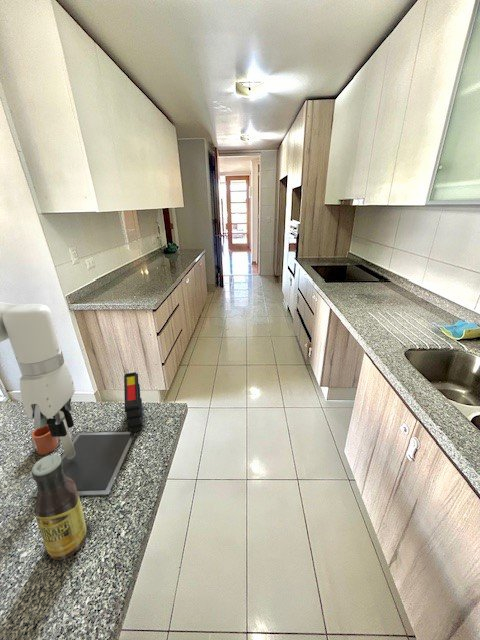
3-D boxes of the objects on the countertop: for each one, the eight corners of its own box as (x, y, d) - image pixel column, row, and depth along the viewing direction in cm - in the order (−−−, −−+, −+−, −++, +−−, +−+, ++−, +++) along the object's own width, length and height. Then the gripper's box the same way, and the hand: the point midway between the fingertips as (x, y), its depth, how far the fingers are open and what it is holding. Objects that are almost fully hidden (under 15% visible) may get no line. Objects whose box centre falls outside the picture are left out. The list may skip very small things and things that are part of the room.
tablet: (33, 499, 56) (32, 495, 56) (78, 435, 73) (78, 432, 72) (108, 497, 57) (108, 493, 56) (136, 434, 73) (136, 431, 73)
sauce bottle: (40, 563, 46) (6, 482, 39) (63, 524, 51) (36, 448, 44) (78, 563, 46) (50, 482, 39) (96, 524, 51) (75, 448, 44)
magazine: (141, 397, 86) (137, 370, 76) (144, 436, 77) (139, 411, 67) (129, 399, 85) (123, 373, 75) (131, 439, 76) (124, 415, 66)
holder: (33, 456, 66) (26, 438, 64) (45, 442, 70) (39, 424, 68) (51, 455, 66) (45, 437, 64) (62, 441, 71) (57, 424, 68)
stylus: (64, 461, 63) (50, 415, 58) (69, 454, 65) (55, 408, 60) (73, 461, 63) (59, 414, 58) (78, 454, 65) (64, 408, 60)
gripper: (48, 346, 62) (66, 408, 68) (-9, 385, 47) (21, 460, 53) (80, 345, 62) (95, 408, 69) (33, 384, 47) (58, 459, 54)
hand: (63, 430), depth 61 cm, fingers closed on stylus, 2 cm apart
